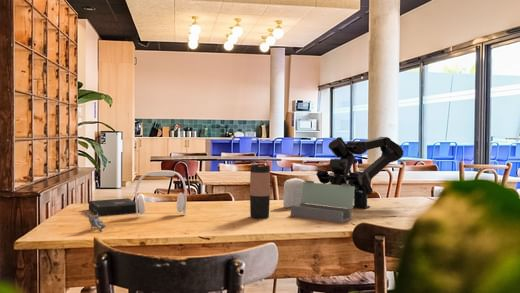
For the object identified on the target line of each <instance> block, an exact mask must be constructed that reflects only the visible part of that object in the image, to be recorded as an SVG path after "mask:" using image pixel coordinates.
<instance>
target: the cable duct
mask: <svg viewBox="0 0 520 293" xmlns="http://www.w3.org/2000/svg"><path fill="white" fill-rule="evenodd" d="M290 216H291V217H296V218H303V219H304V218H305V219H311V220H318V221H325V222H326V221H327V222H331V223H332V222H334V223H339V224H340V223H341V224H343V223H345V222H349V221H350V220H352V209H350V208H341V207H333V206H325V205H316V204H308V203H300V206H294V205H292V206H291V207H290Z"/></svg>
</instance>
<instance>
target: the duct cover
mask: <svg viewBox="0 0 520 293" xmlns="http://www.w3.org/2000/svg"><path fill="white" fill-rule="evenodd" d="M304 181H305V182H303V188H302V198H301V203H305V204H313V205H322V206H330V207H338V208H347V209H351V210H353V209H354V208H353V205H354V191H355V187H354V186H350V184H348V183H347V184H341V185H332V184H331V183H330V184H329V183H321V182H319V183H318V182H315V181H314V180H304Z"/></svg>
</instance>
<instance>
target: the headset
mask: <svg viewBox="0 0 520 293" xmlns="http://www.w3.org/2000/svg"><path fill="white" fill-rule="evenodd" d="M146 176H149V177H174V176H178V177H179V179H180V180H181V182H182V185H183V190H184V193H182V192H179V193H178V195H177V197H176V210H177V212H178V213H182V212H183V215H184V216H186V211H187V198H188V190H187V189H188V188H187V185H186V182H185V179H184V178H183V176H182V174H180V173H179V172H178V171H177V172H176V171H174V170H169V169H168V170H164V169H162V170H150V171H146V172H145V173H143V174H142V175H141V176H140V177H139V178H138V180H137V182H136V186H135V188H134V199H135V200H134V201H135V202H136V213H135V214H136V219H137V220H138V219H139V214H141V215H142V214H144V213H146V212H145V211H146V206H145V205H146V204H145V196H144V194H143V193H139V194H138V190H139V186H140V184H141V182H142V180H143V178H145V177H146ZM138 209H139V213H138Z"/></svg>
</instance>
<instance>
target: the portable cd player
mask: <svg viewBox="0 0 520 293" xmlns="http://www.w3.org/2000/svg"><path fill="white" fill-rule="evenodd" d="M88 211H89V212H91V213H92V214H94V215H97V213H98V216H100V217H105V216H106V217H107V216H117V215H118V216H119V215H128V214H136V200H133V199H131V198H128V197H127V198H114V199H113V198H112V199H101V200H88ZM138 214H140V213H139V209H138Z"/></svg>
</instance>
